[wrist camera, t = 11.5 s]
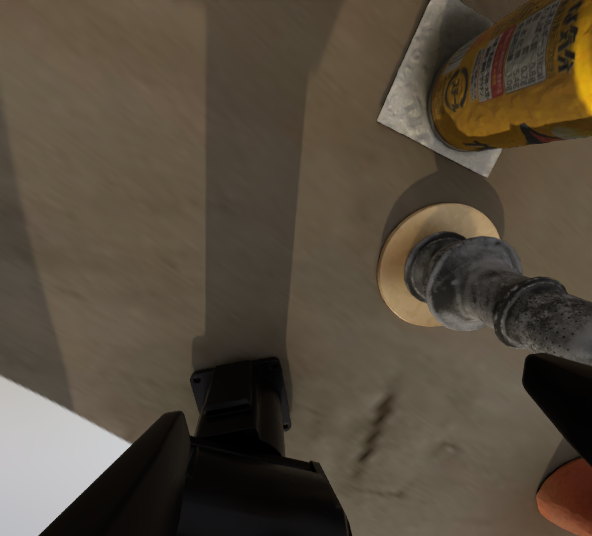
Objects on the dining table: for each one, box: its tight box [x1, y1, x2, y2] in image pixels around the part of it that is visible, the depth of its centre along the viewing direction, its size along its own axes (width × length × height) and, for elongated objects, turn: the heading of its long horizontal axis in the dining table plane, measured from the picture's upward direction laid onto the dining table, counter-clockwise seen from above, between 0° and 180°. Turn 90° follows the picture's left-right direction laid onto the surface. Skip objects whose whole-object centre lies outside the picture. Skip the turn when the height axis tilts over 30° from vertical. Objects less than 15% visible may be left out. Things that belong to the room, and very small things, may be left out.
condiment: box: [377, 0, 592, 178], centre depth 12 cm, size 7×8×12 cm
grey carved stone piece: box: [404, 231, 592, 366], centre depth 15 cm, size 6×6×12 cm
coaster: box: [377, 203, 500, 327], centre depth 21 cm, size 9×9×1 cm
